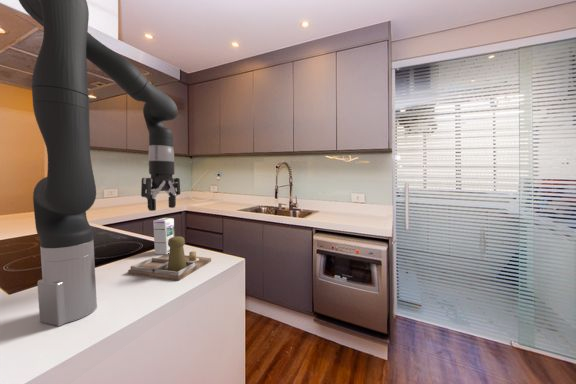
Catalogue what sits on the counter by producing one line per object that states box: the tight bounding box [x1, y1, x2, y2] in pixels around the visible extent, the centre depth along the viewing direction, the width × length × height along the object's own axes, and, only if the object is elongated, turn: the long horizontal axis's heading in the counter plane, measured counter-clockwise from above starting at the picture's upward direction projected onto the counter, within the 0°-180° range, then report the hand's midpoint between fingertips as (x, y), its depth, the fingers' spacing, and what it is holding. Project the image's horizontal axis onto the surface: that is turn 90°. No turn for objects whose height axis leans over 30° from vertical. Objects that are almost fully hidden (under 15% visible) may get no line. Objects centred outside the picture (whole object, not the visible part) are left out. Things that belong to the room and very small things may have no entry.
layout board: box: [127, 251, 212, 281], centre depth 87 cm, size 18×20×4 cm
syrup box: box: [152, 217, 176, 255], centre depth 103 cm, size 6×6×14 cm
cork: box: [167, 235, 187, 272], centre depth 82 cm, size 6×6×11 cm
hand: (162, 209), depth 81 cm, fingers open, 8 cm apart
